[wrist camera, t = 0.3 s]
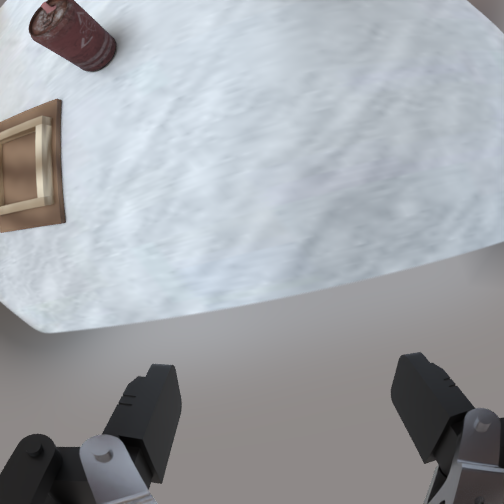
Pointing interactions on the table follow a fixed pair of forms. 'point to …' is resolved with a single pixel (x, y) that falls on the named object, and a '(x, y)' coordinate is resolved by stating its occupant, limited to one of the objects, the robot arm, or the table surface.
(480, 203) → the table surface
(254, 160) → the table surface
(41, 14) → the can
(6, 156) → the tray
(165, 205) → the table surface
